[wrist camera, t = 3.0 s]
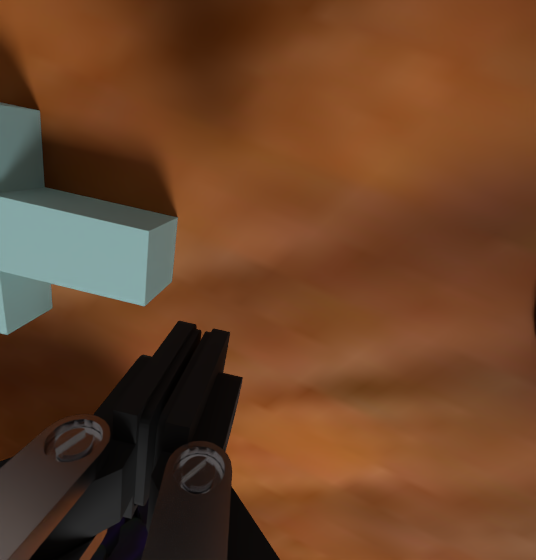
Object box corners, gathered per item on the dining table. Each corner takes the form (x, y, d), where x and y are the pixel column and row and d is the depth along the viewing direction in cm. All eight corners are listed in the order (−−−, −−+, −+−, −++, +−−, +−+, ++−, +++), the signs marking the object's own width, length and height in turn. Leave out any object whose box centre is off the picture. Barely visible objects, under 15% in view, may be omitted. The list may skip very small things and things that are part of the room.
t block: (184, 142, 17) (154, 139, 14) (166, 336, 22) (140, 369, 18) (-30, 95, 18) (-107, 83, 15) (-4, 294, 22) (-58, 318, 19)
